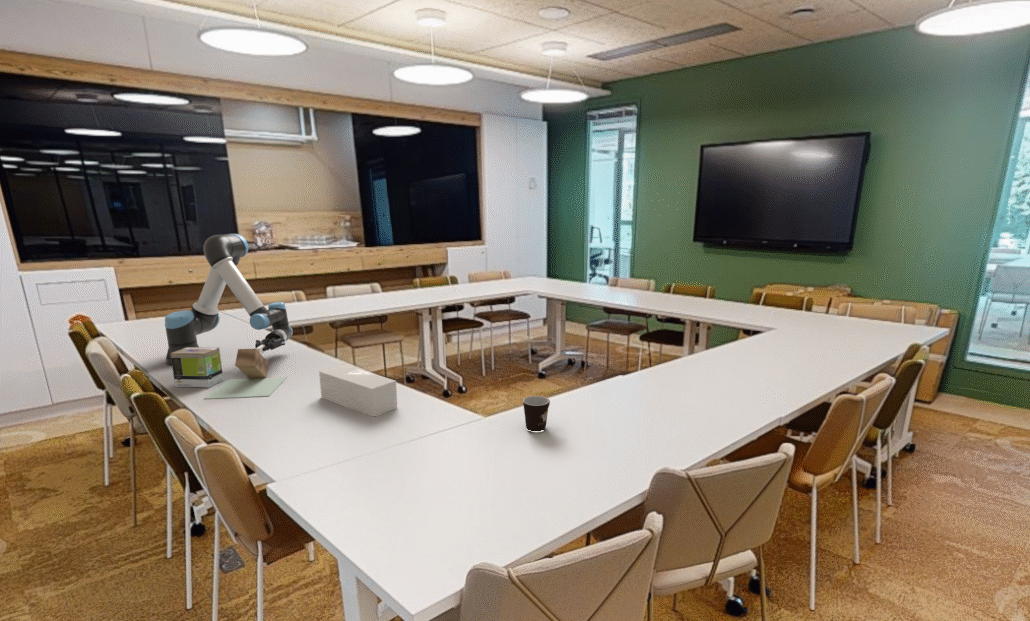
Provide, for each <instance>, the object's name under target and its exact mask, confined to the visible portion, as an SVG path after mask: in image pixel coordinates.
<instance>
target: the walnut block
mask: <svg viewBox="0 0 1030 621" xmlns="http://www.w3.org/2000/svg"><path fill="white" fill-rule="evenodd" d="M236 352H237V353H236V357H235V358H236V359H235V364H234V366H235V367H236V368H237V369H239V371H241V373H243V374H244V375H245V376H246V377H247V379H255V378H268V371H269V362H268V361H267V360H266V358H265V357H264V356H263V355H262V354H260V353H259V351H258V350H257V349H256V348H238V349H237V351H236Z"/></svg>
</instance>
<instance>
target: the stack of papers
mask: <svg viewBox="0 0 1030 621" xmlns="http://www.w3.org/2000/svg"><path fill="white" fill-rule="evenodd" d="M318 373H319V375H318V376H319V385H320V397H321V398H322V399H323V400H324V399H325V400H327V401H330V402H332V403H335V404H337V405H341V406H343V407H346V408H348V409H351V410H353V409H354V411H356V412H359V413H361V412H362V414H365V415H367V414H368V415H367V416H369V415H371V416H370V417H372V416H373V418H375V417H374V416H376V417H378V416H380V415H379V414H381V415H383V414H385V413H384V412H386V413H388V412H390V411H389V410H391V411H392V409H393V410H395V409H394V408H396V409H398V396H397V394H398V393H397V380H394V379H391V378H388V377H385V376H381V375H377V374H374V373H372V372H368V371H366V370H362V369H358V368H355V367H351V366H348V365H346V364H340V365H338V366H334V367H330V368H327V369H323V370H320V371H319V372H318ZM387 411H388V412H387ZM382 413H383V414H382ZM377 415H378V416H377Z"/></svg>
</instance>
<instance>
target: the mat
mask: <svg viewBox="0 0 1030 621" xmlns="http://www.w3.org/2000/svg"><path fill="white" fill-rule="evenodd" d="M287 378H288V377H286V376H285V377H284V376H283V377H282V376H281V377H267V378H255V379H249V378H236V379H235V378H233V379H226V380H225V381H224V382H223V383H222V384H220V385H219V386H218V387H216V389H214V390H213V391H211V392H210V393H209V394H208V395H206V396H205V397H204V398H203V399H204V400H212V399H213V400H214V399H215V400H217V399H237V398H238V399H239V398H262V397H270V396H272V394H274V392H275V391H276V390H277V389H278V388H279V386H281V385H282V384H283V383H284V382H285V380H286V379H287Z"/></svg>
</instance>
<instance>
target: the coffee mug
mask: <svg viewBox="0 0 1030 621" xmlns="http://www.w3.org/2000/svg"><path fill="white" fill-rule="evenodd" d="M522 404H523V413H524V420H525V429H526V428H527V429H528V430H531V431H541V430H544V429H545V428H546V429H547V420H548V412H549V407H550V404H551V402H550V399H549V398H548V397H546V396H542V395H541V396H540V395H529V396H527V397H524V398H523V400H522ZM546 429H545V430H546Z"/></svg>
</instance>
